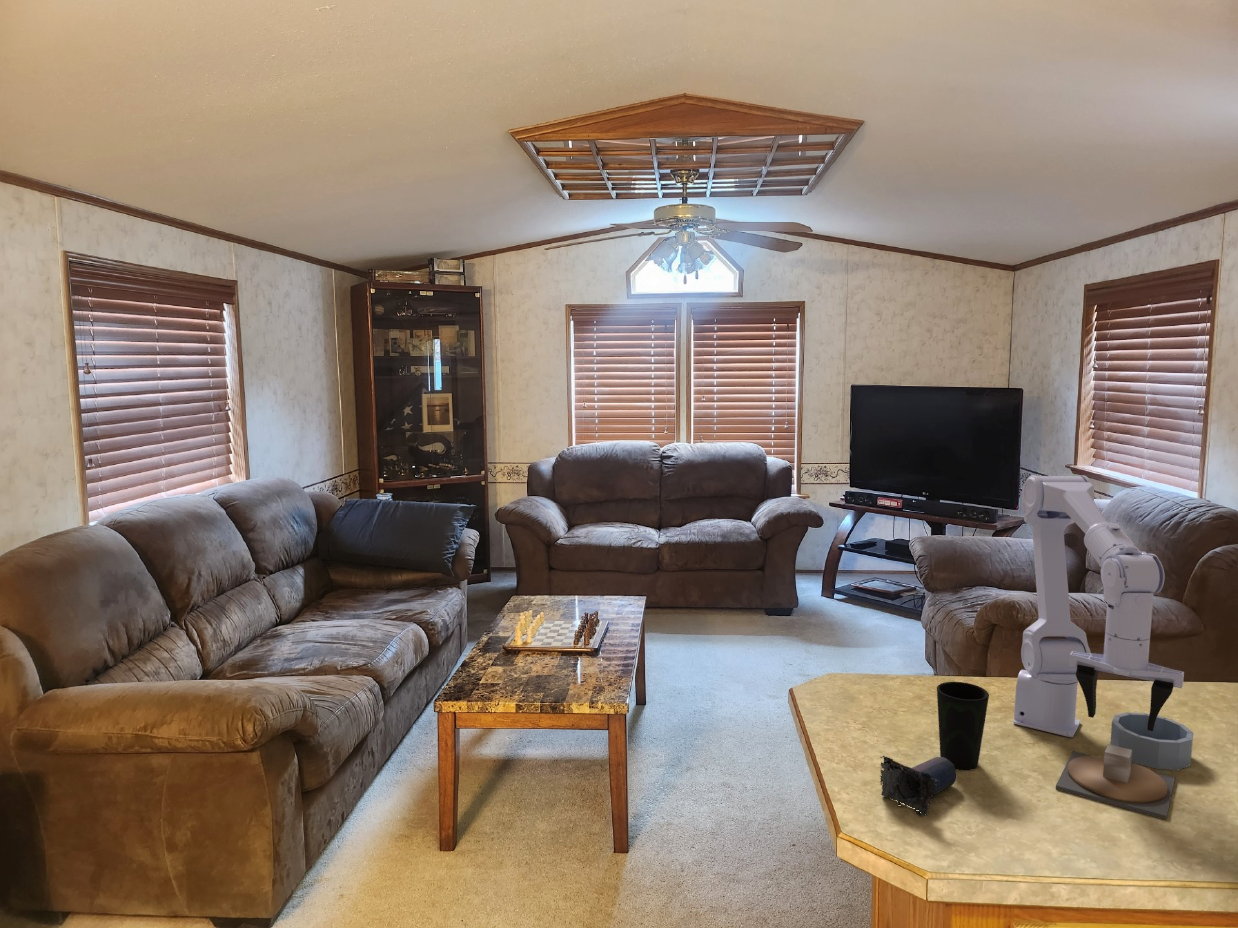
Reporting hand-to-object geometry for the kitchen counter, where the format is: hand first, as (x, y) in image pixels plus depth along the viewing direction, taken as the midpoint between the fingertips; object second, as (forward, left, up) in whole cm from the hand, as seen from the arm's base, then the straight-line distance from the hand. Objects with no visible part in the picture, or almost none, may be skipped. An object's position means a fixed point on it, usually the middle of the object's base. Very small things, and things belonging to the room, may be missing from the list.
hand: (1120, 721), depth 126 cm
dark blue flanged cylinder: (-22, -20, -10) cm, 32 cm away
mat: (0, 0, -10) cm, 10 cm away
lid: (0, 0, -9) cm, 9 cm away
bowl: (+3, +15, -10) cm, 18 cm away
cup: (-21, -7, -10) cm, 24 cm away
